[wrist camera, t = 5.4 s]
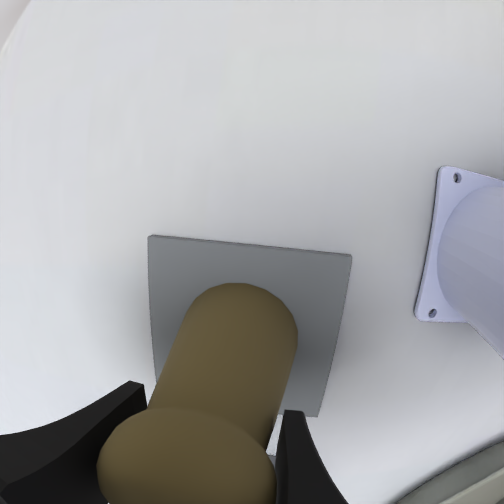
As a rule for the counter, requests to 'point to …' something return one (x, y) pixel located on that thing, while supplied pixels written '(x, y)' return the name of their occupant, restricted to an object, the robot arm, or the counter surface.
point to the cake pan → (466, 482)
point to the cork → (208, 407)
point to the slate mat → (263, 276)
